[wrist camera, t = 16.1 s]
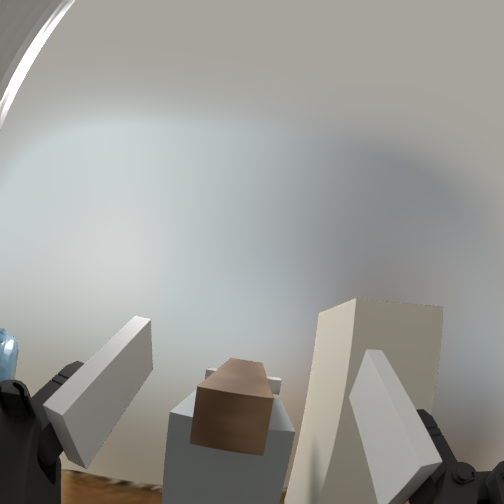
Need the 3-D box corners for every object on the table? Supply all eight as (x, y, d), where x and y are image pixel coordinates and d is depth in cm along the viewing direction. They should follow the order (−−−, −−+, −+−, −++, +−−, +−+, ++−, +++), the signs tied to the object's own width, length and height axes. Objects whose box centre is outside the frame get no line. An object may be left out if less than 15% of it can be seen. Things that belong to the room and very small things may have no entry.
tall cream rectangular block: (296, 560, 15) (356, 297, 24) (284, 501, 30) (318, 313, 38) (380, 549, 15) (443, 306, 23) (347, 499, 29) (383, 319, 38)
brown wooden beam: (146, 431, 13) (152, 375, 14) (207, 380, 34) (211, 354, 35) (309, 458, 12) (320, 402, 13) (277, 391, 33) (281, 365, 34)
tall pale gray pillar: (160, 564, 12) (169, 411, 18) (183, 511, 24) (199, 386, 29) (254, 580, 12) (295, 431, 17) (254, 523, 23) (280, 398, 29)
